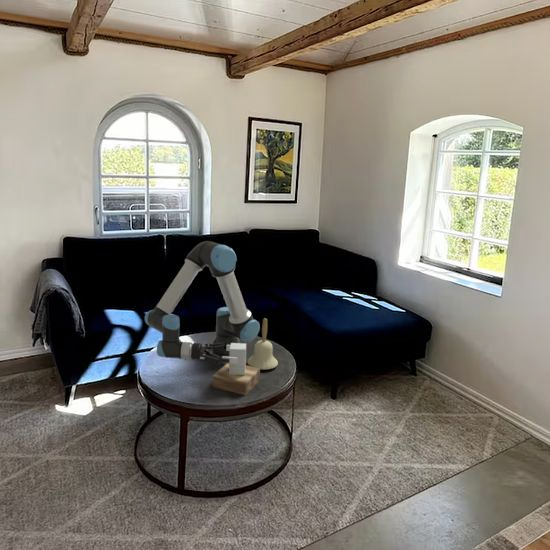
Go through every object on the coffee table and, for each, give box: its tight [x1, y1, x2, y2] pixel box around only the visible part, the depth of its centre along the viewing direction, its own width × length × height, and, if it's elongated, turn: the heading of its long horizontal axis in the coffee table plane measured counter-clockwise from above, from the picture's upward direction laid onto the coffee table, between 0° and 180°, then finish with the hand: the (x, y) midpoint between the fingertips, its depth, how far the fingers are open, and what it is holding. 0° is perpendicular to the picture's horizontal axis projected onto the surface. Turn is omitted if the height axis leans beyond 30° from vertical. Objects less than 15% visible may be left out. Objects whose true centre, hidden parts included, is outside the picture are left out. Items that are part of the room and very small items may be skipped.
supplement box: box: [228, 342, 247, 375], centre depth 223 cm, size 7×7×13 cm
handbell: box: [246, 317, 279, 370], centre depth 244 cm, size 15×15×25 cm
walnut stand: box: [212, 363, 261, 396], centre depth 225 cm, size 16×16×6 cm
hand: (238, 354), depth 222 cm, fingers open, 13 cm apart
